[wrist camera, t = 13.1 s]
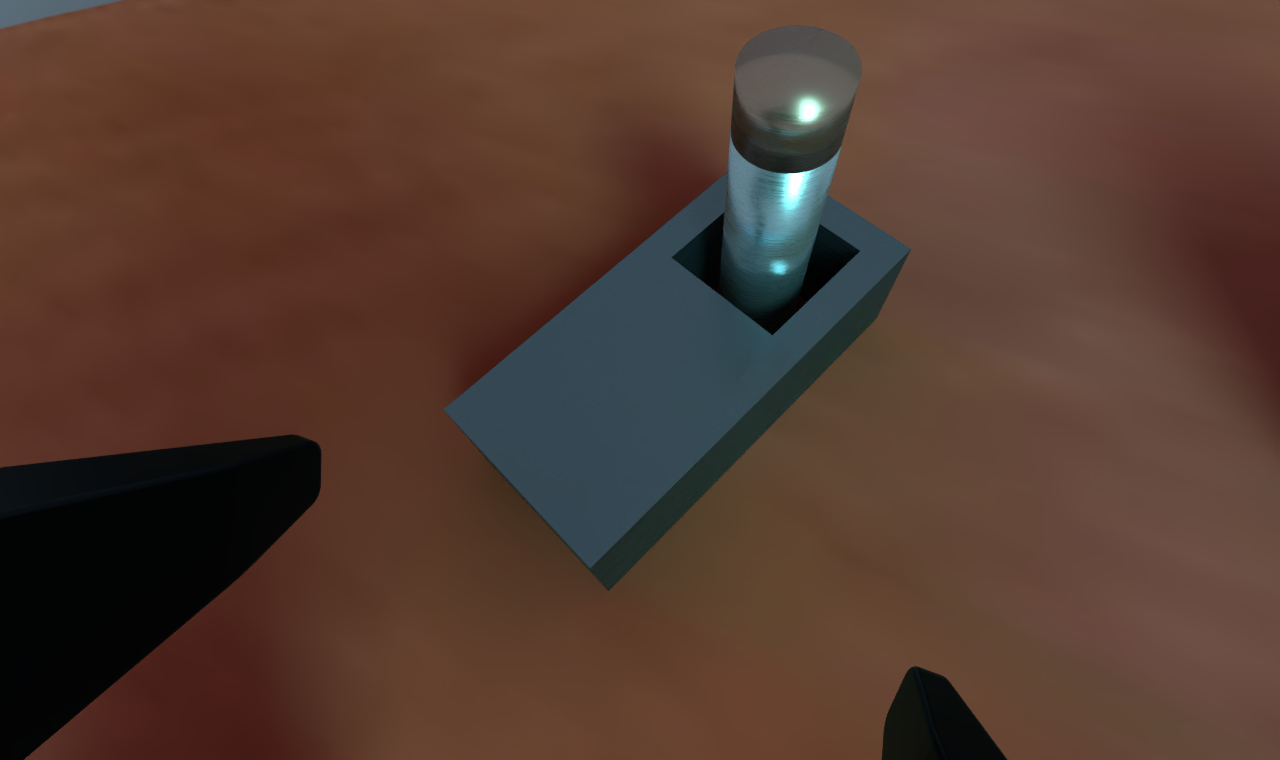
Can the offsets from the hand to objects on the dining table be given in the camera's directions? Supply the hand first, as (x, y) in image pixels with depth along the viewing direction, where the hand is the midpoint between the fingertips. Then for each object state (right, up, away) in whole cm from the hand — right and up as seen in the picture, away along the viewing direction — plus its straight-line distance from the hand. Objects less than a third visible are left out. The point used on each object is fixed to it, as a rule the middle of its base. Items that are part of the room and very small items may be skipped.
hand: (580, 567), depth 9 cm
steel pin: (+6, +5, +17) cm, 19 cm away
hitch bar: (+3, +2, +16) cm, 17 cm away
